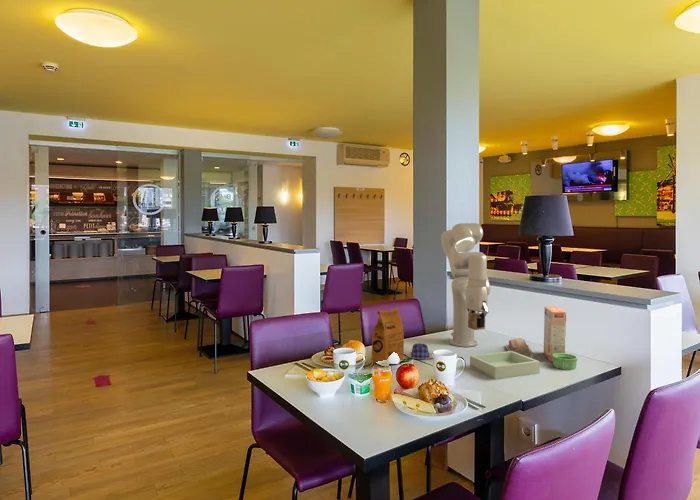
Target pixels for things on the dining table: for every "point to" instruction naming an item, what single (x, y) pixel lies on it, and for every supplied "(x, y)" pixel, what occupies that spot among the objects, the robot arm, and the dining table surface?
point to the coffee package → (388, 336)
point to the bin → (504, 364)
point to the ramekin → (564, 361)
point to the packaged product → (520, 347)
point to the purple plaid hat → (419, 352)
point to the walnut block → (474, 321)
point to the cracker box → (554, 331)
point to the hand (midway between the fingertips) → (476, 325)
